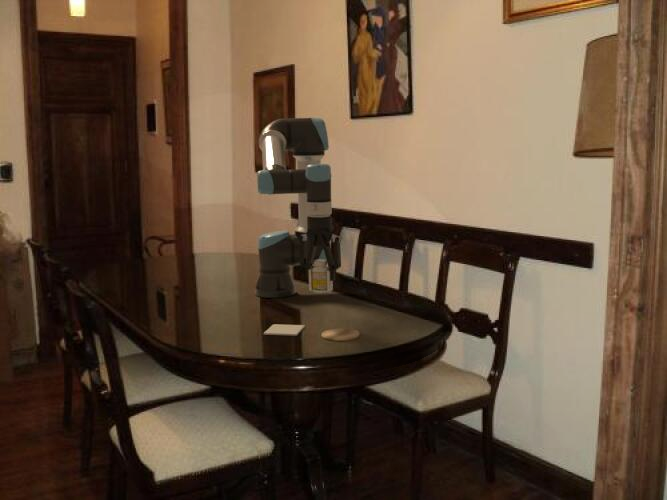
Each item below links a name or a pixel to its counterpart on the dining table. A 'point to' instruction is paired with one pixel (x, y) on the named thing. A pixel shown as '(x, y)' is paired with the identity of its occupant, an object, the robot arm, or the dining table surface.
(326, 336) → the cork coaster
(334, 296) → the dining table surface
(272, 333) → the felt mat
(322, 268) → the supplement bottle
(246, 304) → the dining table surface
